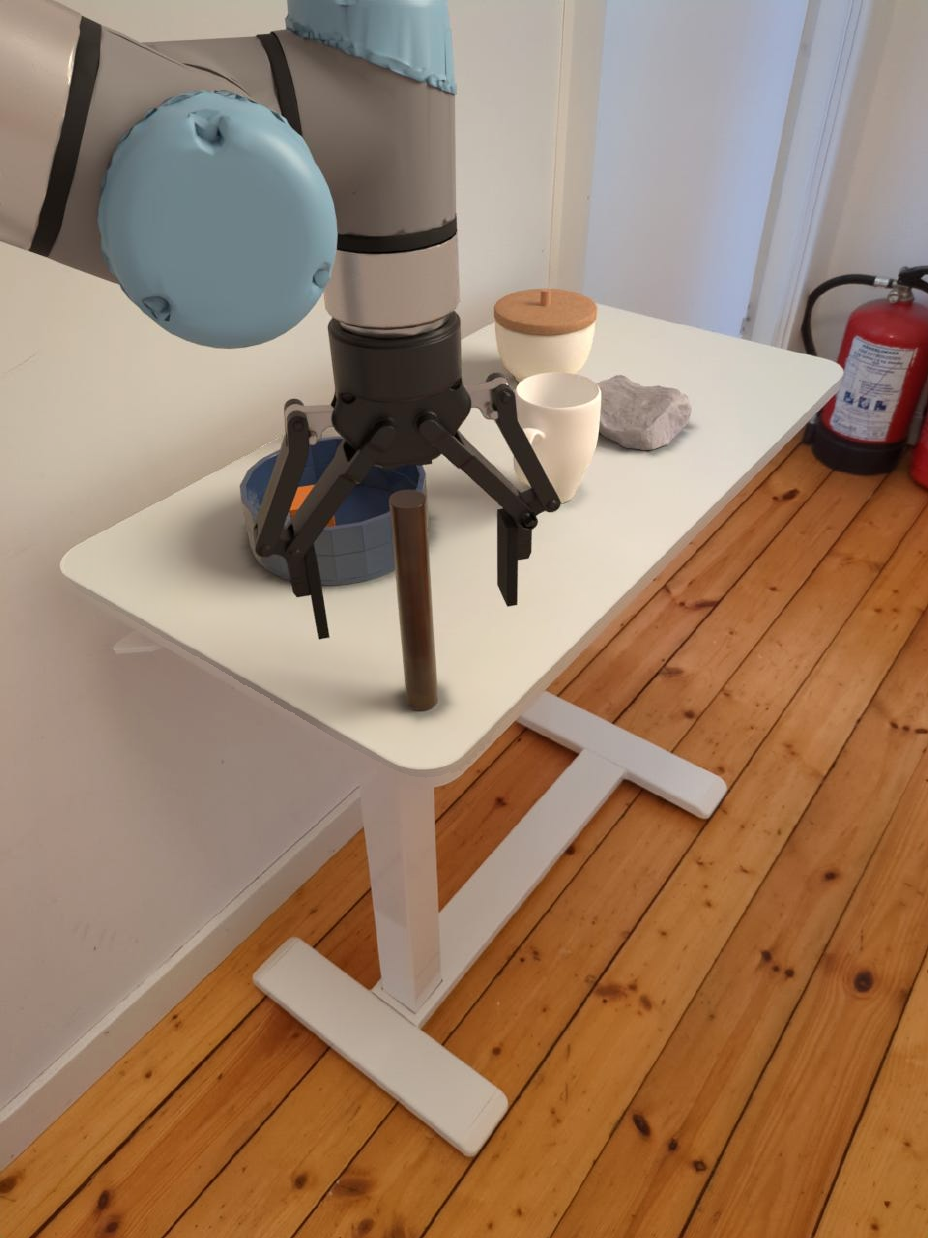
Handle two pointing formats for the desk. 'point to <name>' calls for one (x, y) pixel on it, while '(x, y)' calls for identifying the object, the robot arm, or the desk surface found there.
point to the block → (298, 500)
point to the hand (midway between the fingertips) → (416, 610)
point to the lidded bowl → (544, 331)
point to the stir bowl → (339, 517)
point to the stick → (414, 596)
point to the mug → (560, 426)
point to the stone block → (641, 413)
